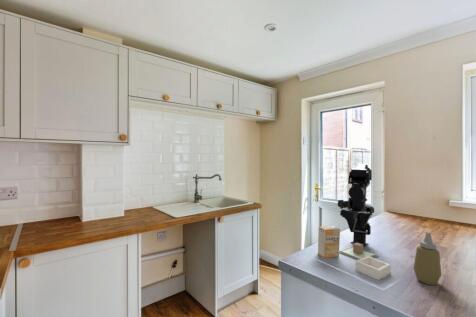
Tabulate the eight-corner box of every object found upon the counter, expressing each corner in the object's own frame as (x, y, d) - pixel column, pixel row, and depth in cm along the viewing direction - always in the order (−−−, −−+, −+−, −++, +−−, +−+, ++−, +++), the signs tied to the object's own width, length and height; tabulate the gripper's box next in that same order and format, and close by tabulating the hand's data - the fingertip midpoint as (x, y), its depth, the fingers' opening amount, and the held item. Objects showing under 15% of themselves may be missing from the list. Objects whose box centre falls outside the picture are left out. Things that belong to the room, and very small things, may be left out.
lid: (353, 248, 117) (353, 238, 117) (374, 256, 108) (375, 245, 108) (341, 253, 111) (342, 242, 111) (363, 261, 103) (363, 250, 103)
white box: (367, 265, 100) (367, 255, 100) (390, 274, 92) (390, 264, 92) (355, 270, 95) (355, 261, 95) (379, 281, 87) (379, 270, 87)
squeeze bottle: (428, 275, 92) (429, 229, 92) (447, 287, 84) (449, 236, 84) (407, 275, 92) (409, 229, 92) (424, 287, 84) (426, 236, 84)
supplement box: (323, 259, 105) (324, 229, 105) (317, 254, 110) (318, 226, 110) (339, 257, 107) (340, 228, 107) (332, 252, 112) (333, 225, 112)
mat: (352, 247, 119) (352, 246, 119) (379, 257, 108) (379, 256, 108) (336, 253, 111) (336, 252, 111) (364, 264, 101) (364, 263, 101)
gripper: (352, 191, 121) (351, 222, 121) (330, 195, 110) (329, 228, 111) (375, 195, 112) (374, 228, 112) (353, 199, 101) (352, 235, 102)
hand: (357, 229), depth 110 cm, fingers open, 9 cm apart
